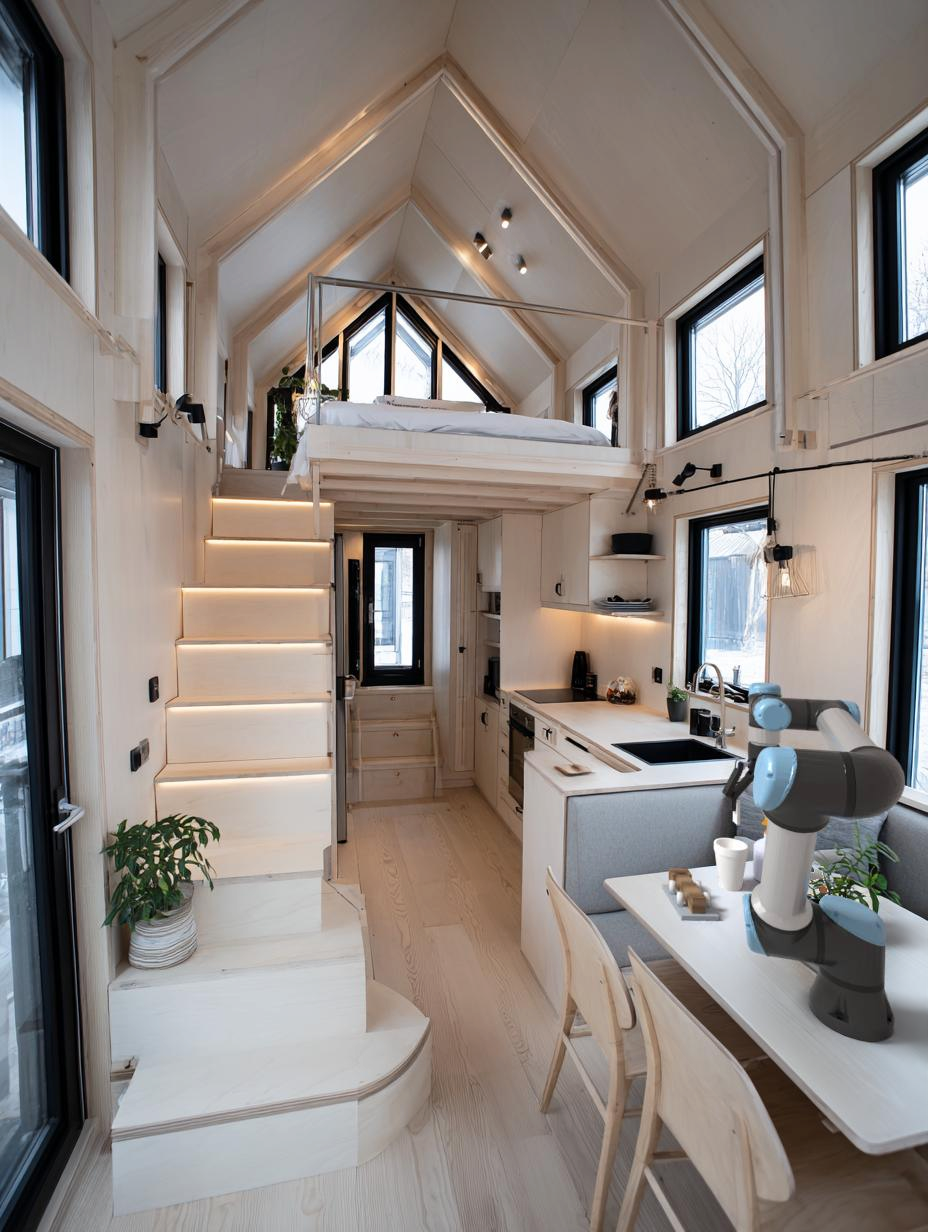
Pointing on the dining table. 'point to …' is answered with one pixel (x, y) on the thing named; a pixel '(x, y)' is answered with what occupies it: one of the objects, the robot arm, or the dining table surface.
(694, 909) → the wooden toy mallet
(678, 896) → the rack
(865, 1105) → the dining table surface
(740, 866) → the foam cup
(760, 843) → the soap bottle
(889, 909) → the dining table surface
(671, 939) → the dining table surface
